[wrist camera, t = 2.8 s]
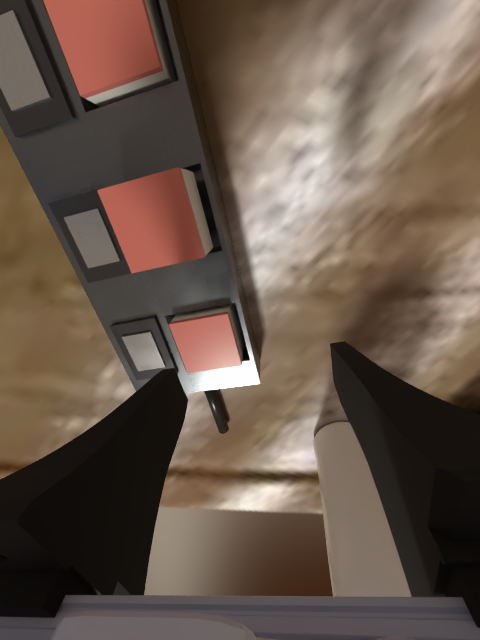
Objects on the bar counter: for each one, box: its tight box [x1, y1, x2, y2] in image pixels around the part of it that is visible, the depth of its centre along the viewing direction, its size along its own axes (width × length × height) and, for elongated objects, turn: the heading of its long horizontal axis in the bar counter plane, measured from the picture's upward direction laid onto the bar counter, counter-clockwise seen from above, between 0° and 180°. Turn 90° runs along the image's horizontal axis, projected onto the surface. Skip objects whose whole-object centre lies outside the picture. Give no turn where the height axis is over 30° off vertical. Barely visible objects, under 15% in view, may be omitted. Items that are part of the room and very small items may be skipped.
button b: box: [97, 167, 213, 273], centre depth 14 cm, size 4×4×3 cm
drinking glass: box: [313, 422, 412, 597], centre depth 19 cm, size 7×7×15 cm
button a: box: [169, 303, 244, 373], centre depth 18 cm, size 4×4×3 cm
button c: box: [43, 0, 176, 107], centre depth 12 cm, size 4×4×3 cm
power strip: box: [0, 0, 260, 434], centre depth 18 cm, size 10×32×4 cm, turn 13°
